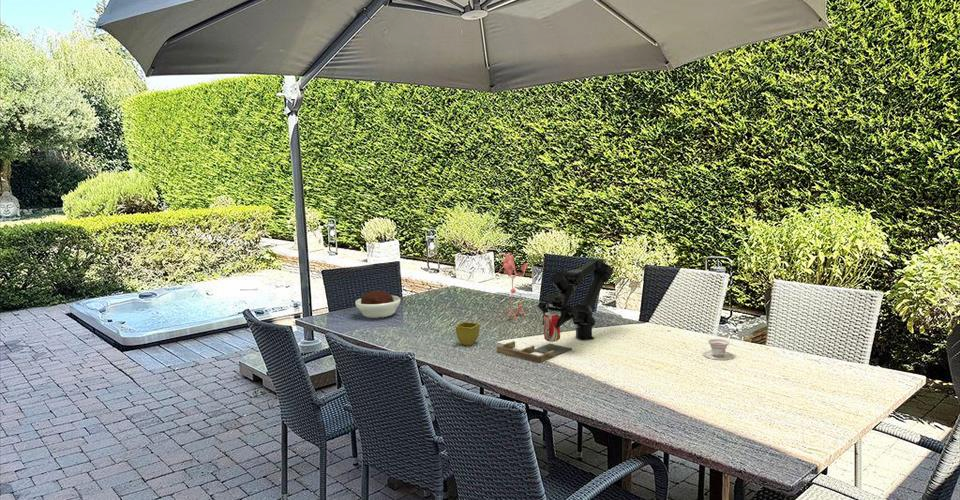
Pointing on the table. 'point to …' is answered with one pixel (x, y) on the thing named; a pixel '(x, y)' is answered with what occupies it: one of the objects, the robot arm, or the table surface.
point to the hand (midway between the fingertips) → (549, 326)
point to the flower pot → (467, 332)
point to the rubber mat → (551, 347)
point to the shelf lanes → (524, 352)
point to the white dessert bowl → (377, 304)
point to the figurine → (508, 268)
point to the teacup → (718, 350)
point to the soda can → (551, 327)
